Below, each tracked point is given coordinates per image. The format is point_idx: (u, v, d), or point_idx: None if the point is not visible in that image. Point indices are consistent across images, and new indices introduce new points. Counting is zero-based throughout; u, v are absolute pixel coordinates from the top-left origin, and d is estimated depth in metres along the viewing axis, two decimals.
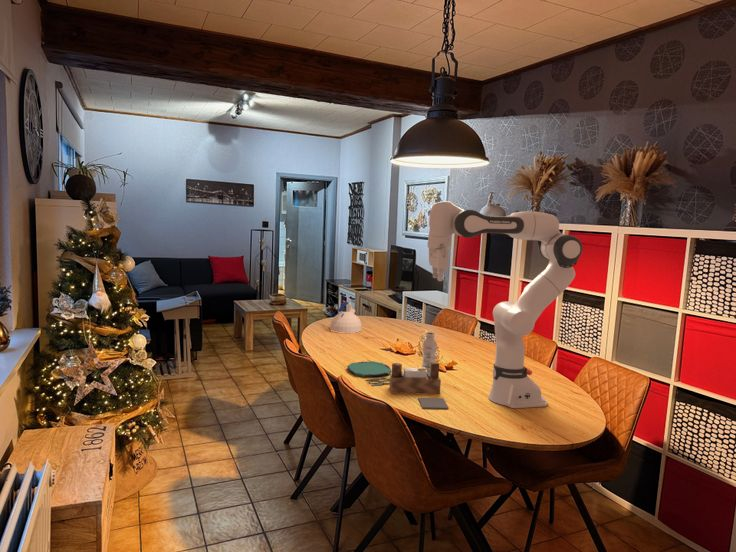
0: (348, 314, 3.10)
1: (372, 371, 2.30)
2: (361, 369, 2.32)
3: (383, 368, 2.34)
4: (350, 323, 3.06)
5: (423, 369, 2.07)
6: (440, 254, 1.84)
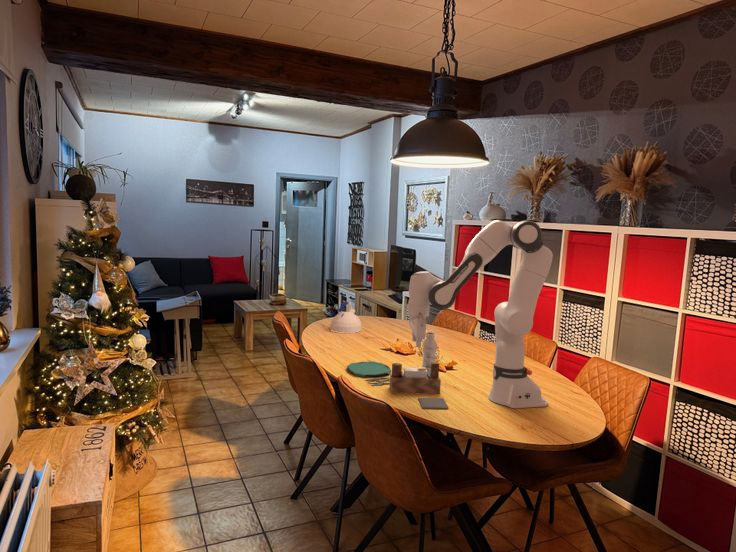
0: (348, 314, 3.10)
1: (372, 371, 2.30)
2: (361, 369, 2.32)
3: (383, 368, 2.34)
4: (350, 323, 3.06)
5: (423, 369, 2.07)
6: (418, 324, 1.96)
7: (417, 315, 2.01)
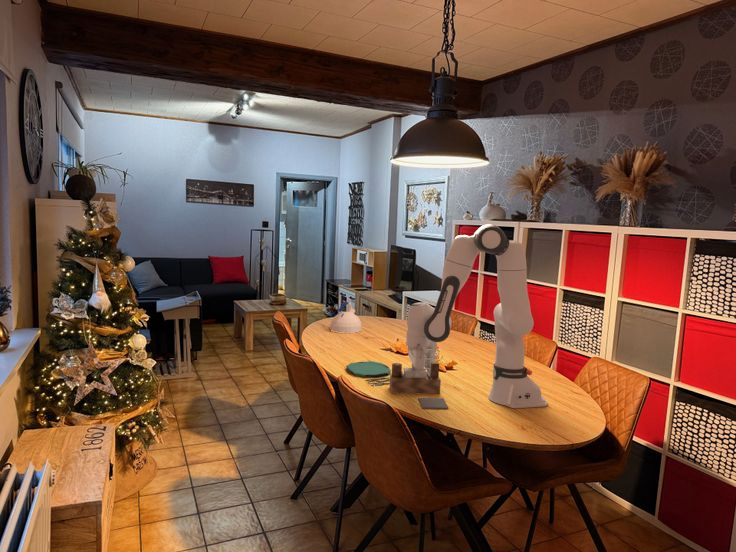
0: (348, 314, 3.10)
1: (371, 371, 2.30)
2: (360, 369, 2.32)
3: (382, 368, 2.34)
4: (350, 323, 3.06)
5: (423, 369, 2.07)
6: (416, 355, 1.97)
7: (416, 346, 2.02)
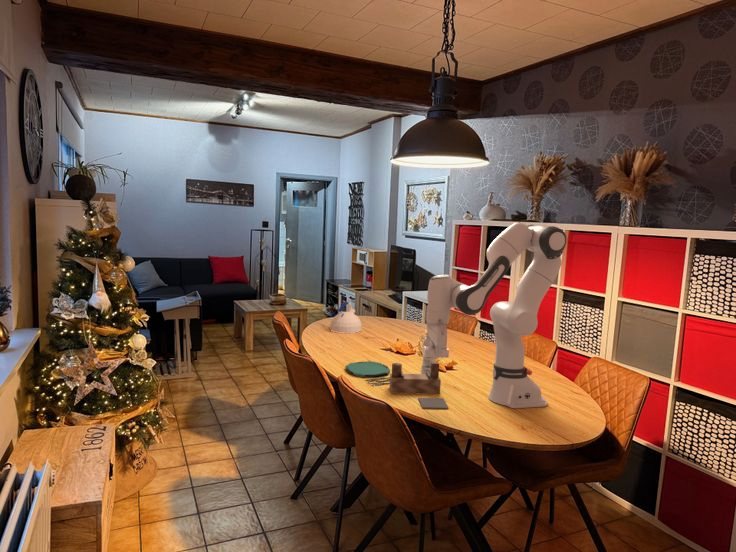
0: (348, 314, 3.10)
1: (371, 371, 2.30)
2: (360, 369, 2.32)
3: (381, 368, 2.35)
4: (350, 323, 3.06)
5: (444, 348, 1.91)
6: (438, 332, 1.81)
7: (437, 322, 1.86)
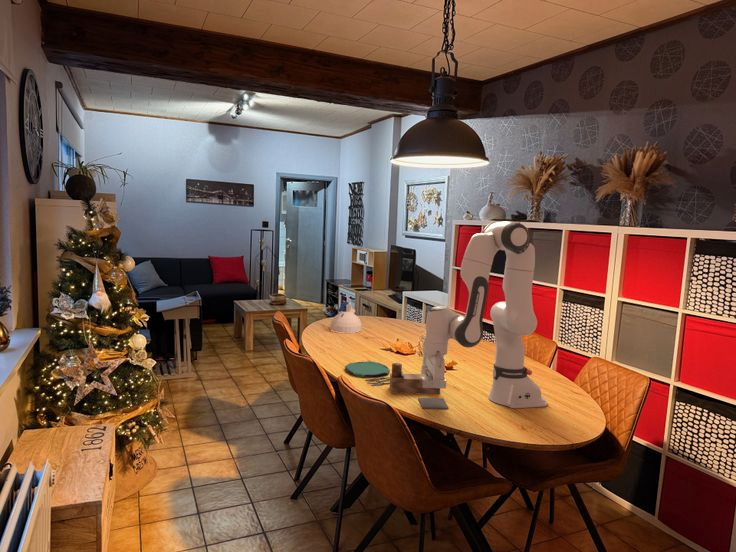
0: (348, 314, 3.10)
1: (370, 371, 2.30)
2: (359, 369, 2.32)
3: (381, 368, 2.35)
4: (350, 323, 3.06)
5: None
6: (436, 364, 1.83)
7: (435, 354, 1.87)
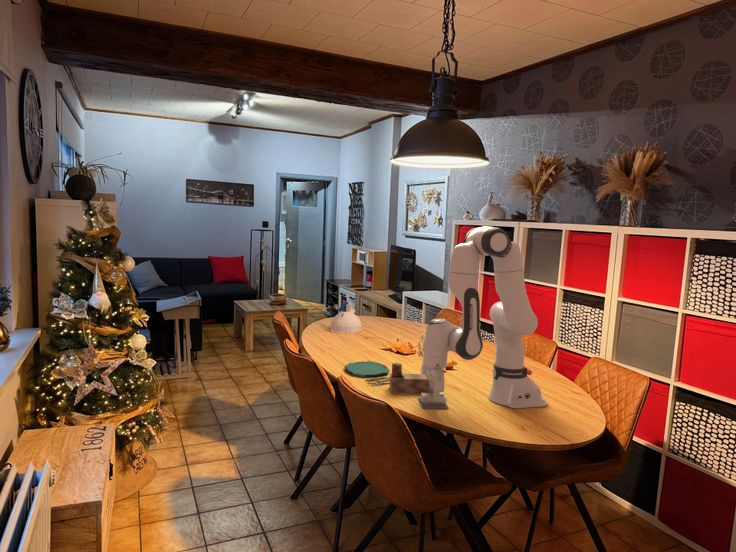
0: (348, 314, 3.10)
1: (370, 371, 2.30)
2: (359, 369, 2.32)
3: (380, 368, 2.35)
4: (350, 323, 3.06)
5: (442, 395, 1.93)
6: (436, 377, 1.83)
7: (434, 367, 1.88)
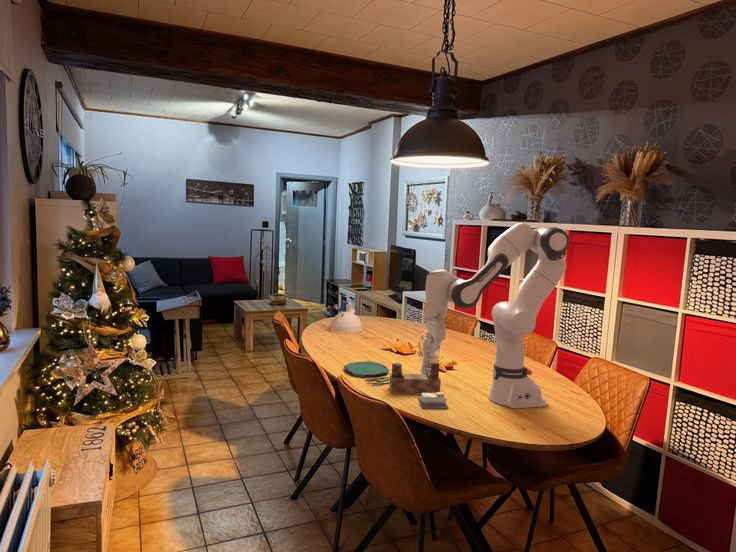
0: (348, 314, 3.10)
1: (370, 371, 2.30)
2: (358, 369, 2.32)
3: (380, 368, 2.35)
4: (350, 323, 3.06)
5: (442, 395, 1.93)
6: (437, 325, 1.87)
7: (435, 316, 1.91)
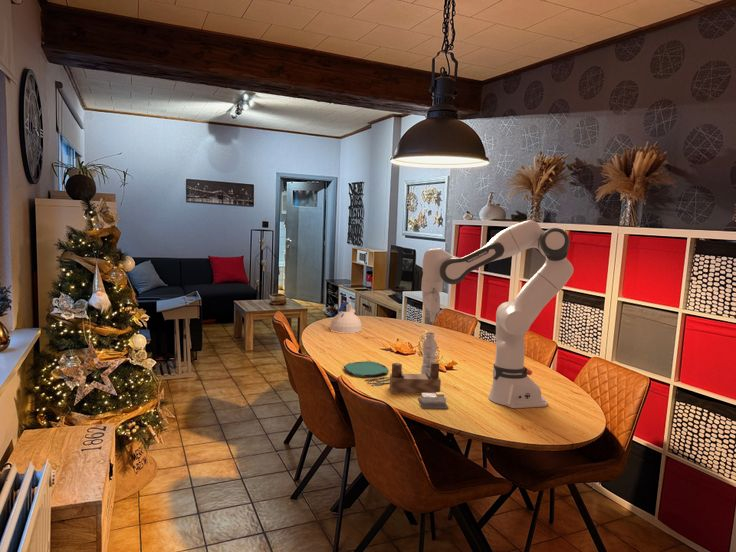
0: (348, 314, 3.10)
1: (369, 371, 2.30)
2: (358, 369, 2.32)
3: (380, 368, 2.35)
4: (350, 323, 3.06)
5: (442, 395, 1.93)
6: (432, 298, 2.00)
7: (431, 291, 2.05)
